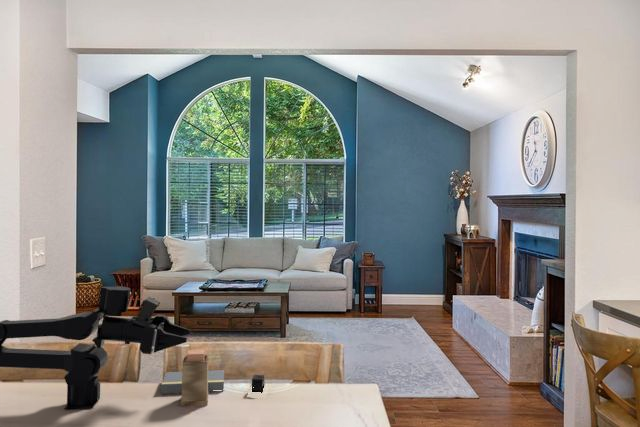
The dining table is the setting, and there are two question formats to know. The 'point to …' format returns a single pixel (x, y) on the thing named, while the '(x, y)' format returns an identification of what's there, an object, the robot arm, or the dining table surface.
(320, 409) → the dining table surface
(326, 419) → the dining table surface
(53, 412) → the dining table surface
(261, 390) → the black slotted stand
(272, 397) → the dining table surface
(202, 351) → the block
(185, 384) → the open wooden bin
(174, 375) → the dock
